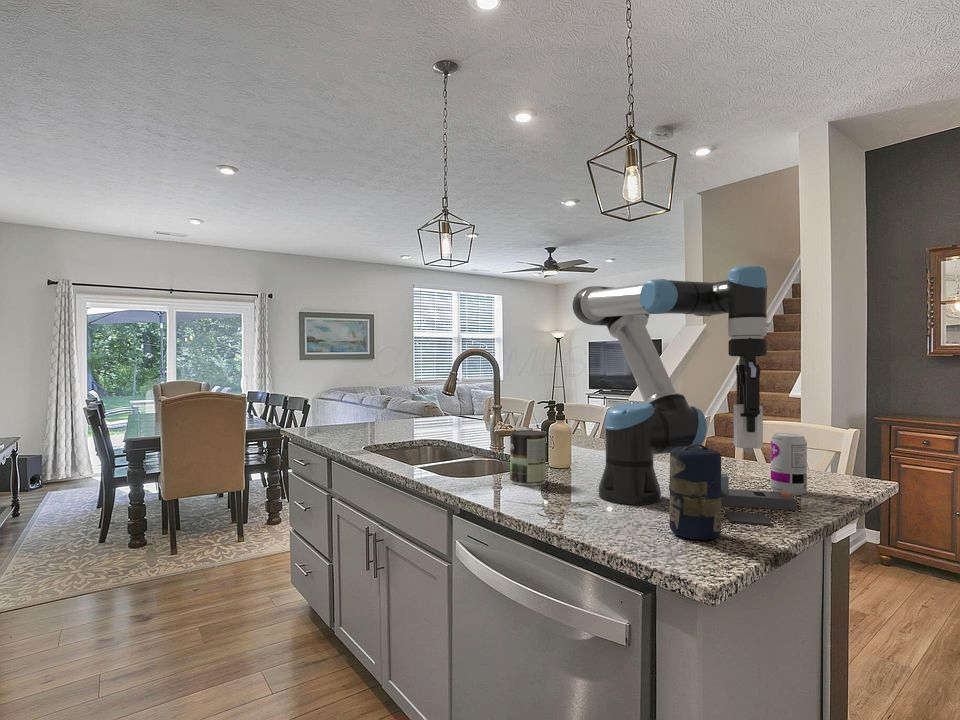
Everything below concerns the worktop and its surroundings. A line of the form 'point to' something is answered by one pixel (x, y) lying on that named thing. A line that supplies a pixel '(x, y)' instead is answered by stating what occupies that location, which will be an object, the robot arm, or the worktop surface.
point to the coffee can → (527, 457)
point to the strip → (755, 497)
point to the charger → (739, 428)
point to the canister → (695, 492)
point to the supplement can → (789, 463)
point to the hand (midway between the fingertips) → (747, 445)
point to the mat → (747, 518)
